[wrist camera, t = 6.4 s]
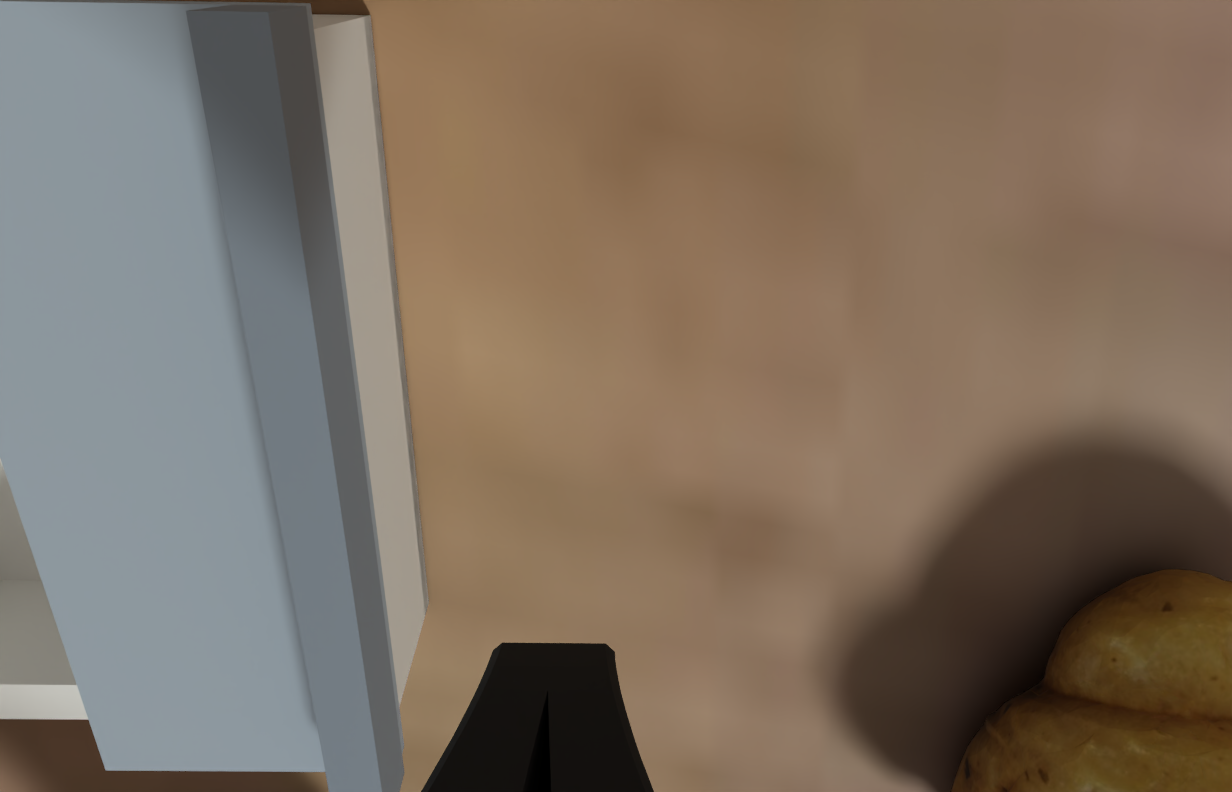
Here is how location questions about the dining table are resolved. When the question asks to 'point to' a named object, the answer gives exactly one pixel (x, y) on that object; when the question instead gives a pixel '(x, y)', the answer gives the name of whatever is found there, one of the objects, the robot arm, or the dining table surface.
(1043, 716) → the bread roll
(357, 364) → the carton
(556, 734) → the robot arm
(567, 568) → the dining table surface
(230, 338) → the flap
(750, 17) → the dining table surface
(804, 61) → the dining table surface
